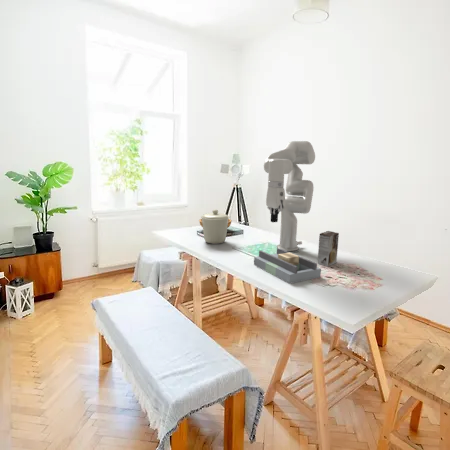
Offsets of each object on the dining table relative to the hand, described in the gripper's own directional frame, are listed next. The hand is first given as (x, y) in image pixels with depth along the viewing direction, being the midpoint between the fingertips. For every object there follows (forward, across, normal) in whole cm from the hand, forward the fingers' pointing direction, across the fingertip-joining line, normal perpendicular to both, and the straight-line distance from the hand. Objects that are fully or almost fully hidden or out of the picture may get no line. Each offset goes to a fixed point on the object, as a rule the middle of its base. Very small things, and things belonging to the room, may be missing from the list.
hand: (274, 221), depth 161 cm
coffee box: (+22, -12, -27) cm, 37 cm away
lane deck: (+22, -11, 0) cm, 25 cm away
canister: (+22, +52, +7) cm, 57 cm away
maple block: (+18, -13, 0) cm, 22 cm away
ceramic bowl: (+23, +82, -8) cm, 85 cm away
